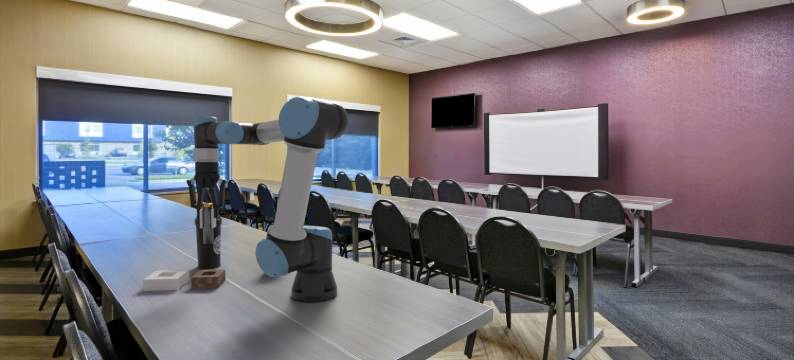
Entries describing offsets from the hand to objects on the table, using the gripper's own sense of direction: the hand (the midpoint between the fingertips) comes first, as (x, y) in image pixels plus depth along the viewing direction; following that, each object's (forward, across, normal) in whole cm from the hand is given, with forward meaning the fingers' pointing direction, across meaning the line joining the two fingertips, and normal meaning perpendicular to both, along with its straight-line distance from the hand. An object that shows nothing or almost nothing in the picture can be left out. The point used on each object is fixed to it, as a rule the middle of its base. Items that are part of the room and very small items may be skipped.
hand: (208, 227), depth 148 cm
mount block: (+21, 0, 0) cm, 21 cm away
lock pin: (+6, 0, 0) cm, 6 cm away
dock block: (+21, +14, 0) cm, 25 cm away
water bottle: (+21, +7, -24) cm, 33 cm away
